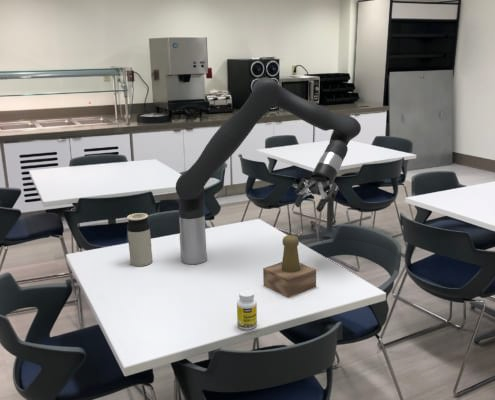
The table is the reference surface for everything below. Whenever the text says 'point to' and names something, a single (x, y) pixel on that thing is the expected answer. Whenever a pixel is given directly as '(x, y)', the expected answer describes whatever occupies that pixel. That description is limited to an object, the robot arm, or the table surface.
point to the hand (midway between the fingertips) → (307, 208)
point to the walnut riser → (289, 279)
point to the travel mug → (139, 239)
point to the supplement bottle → (246, 310)
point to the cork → (290, 254)
